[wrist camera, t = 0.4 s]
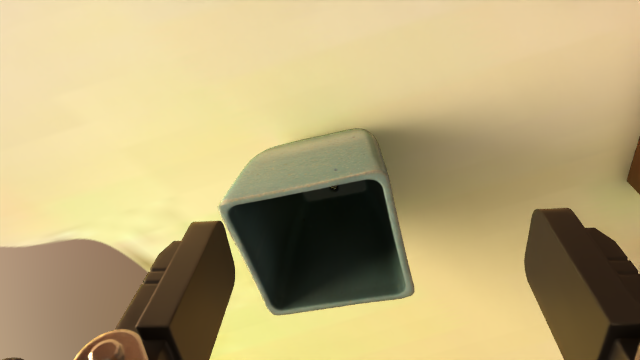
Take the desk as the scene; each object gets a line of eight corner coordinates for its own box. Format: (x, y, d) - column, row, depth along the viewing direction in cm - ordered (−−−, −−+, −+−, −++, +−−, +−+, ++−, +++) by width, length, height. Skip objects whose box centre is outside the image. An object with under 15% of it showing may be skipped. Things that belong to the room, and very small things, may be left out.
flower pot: (402, 205, 32) (416, 299, 25) (289, 225, 34) (270, 318, 26) (378, 96, 28) (386, 169, 20) (250, 126, 30) (213, 203, 22)
